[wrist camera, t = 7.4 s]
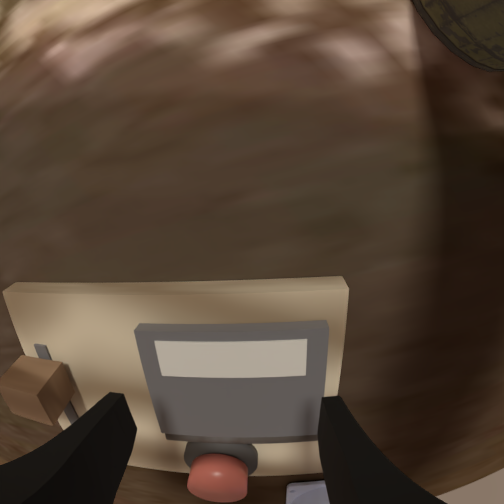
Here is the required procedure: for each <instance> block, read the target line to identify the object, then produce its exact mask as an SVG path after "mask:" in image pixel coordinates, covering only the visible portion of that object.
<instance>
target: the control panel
mask: <svg viewBox="0 0 504 504" xmlns="http://www.w3.org/2000/svg"><path fill="white" fill-rule="evenodd" d="M348 294H349V288H348V286H347V284H346V283H345V281H344V279H343V277H342V276H330V277H308V278H285V279H259V280H229V281H190V282H128V283H41V282H16V283H14V284H13V285H11V286H10V287H8V288H7V289H6V290H4V291H3V295H4V298H5V301H6V304H7V307H8V310H9V313H10V316H11V319H12V322H13V325H14V327H15V330H16V333H17V335H18V338H19V340H20V343H21V345H22V348H23V350H24V353H25V355H26V356H30V357H35V358H41V359H47V360H53V361H60V362H63V365H64V367H65V370H66V372H67V375H68V377H69V379H70V382H71V384H72V386H73V388H74V391H75V393H74V395H73V396H72V398H71V399H70V401H69V403H68V404H67V406H66V407H65V409H64V410H63V412H62V414H61V415H60V417H59V418H58V422H59V423H60V425H61V427H62V428H63V430H65V429H66V428H67V427H69V426H70V425H71V424H73V423H74V422H75V421H76V420H77V419H79V418H80V417H81V416H82V415H83V414H84V413H86V412H87V411H88V410H89V409H90V408H91V407H93V406H94V405H95V404H96V403H97V402H98V401H99V400H101V399H102V398H103V397H104V396H105V395H106V394H108V393H109V392H115V393H123V394H124V396H125V399H126V401H127V404H128V406H129V409H130V412H131V414H132V417H133V419H134V421H135V424H136V426H137V434H136V438H135V443H134V447H133V451H132V453H131V456H130V459H129V461H128V464H127V465H132V466H138V467H144V468H150V469H157V470H165V471H173V472H182V473H190V469H191V464H192V461H193V460H194V459H195V458H196V457H198V456H201V455H204V454H224V455H228V456H232V457H235V458H237V459H239V460H241V461H242V462H244V463H245V464H246V466H247V467H248V476H278V475H298V474H311V473H322V472H323V471H322V466H321V462H320V457H319V447H318V436H317V434H316V435H303V436H287V437H206V436H189V435H176V434H166V433H161V430H160V427H159V423H158V420H157V417H156V414H155V411H154V407H153V404H152V400H151V397H150V393H149V390H148V386H147V383H146V379H145V375H144V371H143V368H142V364H141V360H140V356H139V351H138V347H137V343H136V339H135V334H134V330H135V328H136V327H137V326H138V324H139V323H151V324H243V323H275V322H298V321H316V320H327V323H328V326H329V342H328V356H327V369H326V380H325V391H324V397H328V396H337V393H338V386H339V379H340V372H341V364H342V356H343V347H344V338H345V328H346V318H347V307H348Z"/></svg>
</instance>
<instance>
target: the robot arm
mask: <svg viewBox="0 0 504 504" xmlns="http://www.w3.org/2000/svg"><path fill="white" fill-rule="evenodd" d="M136 434H137V426H136V424H135V421H134V419H133V417H132V414H131V412H130V409H129V406H128V404H127V401H126V399H125V396H124V394H123V393H115V392H109V393H108V394H106V395H105V396H104V397H103V398H102V399H101V400H99V401H98V402H97V403H96V404H95V405H94V406H93V407H91V408H90V409H89V410H88V411H87V412H86V413H84V414H83V415H82V416H81V417H80V418H79V419H77V420H76V421H75V422H74V423H73V424H71V425H70V426H69V427H67V428H66V429H65V430H64V431H62V432H61V433H60V434H58V435H57V436H56V437H54V438H53V439H51V440H50V441H48V442H47V443H45V444H44V445H42V446H40V447H39V448H37V449H35V450H34V451H32V452H30V453H28V454H26V455H24V456H22V457H20V458H17V459H15V460H13V461H11V462H8V463H5V464H3V465H0V504H113V501H114V498H115V495H116V492H117V490H118V487H119V484H120V482H121V479H122V477H123V474H124V472H125V469H126V466H127V464H128V461H129V459H130V456H131V453H132V451H133V447H134V443H135V438H136ZM317 436H318V447H319V457H320V462H321V466H322V471H323V475H324V480H323V481H312V482H299V483H290V484H288V485H287V492H286V504H447V503H445V502H443V501H442V500H440V499H438V498H437V497H435V496H433V495H432V494H430V493H429V492H427V491H426V490H425V489H423V488H422V487H420V486H419V485H417V484H416V483H415V482H413V481H412V480H411V479H410V478H408V477H407V476H406V475H405V474H404V473H402V472H401V471H400V470H399V469H398V468H397V467H396V466H395V465H394V464H393V463H392V462H390V461H389V460H388V458H387V457H386V456H385V455H384V454H383V453H382V452H381V451H380V450H379V449H378V448H377V447H376V445H375V444H374V443H373V442H372V441H371V439H370V438H369V437H368V436H367V434H366V433H365V432H364V431H363V429H362V428H361V427H360V425H359V424H358V423H357V421H356V420H355V418H354V417H353V415H352V414H351V412H350V411H349V409H348V408H347V406H346V405H345V403H344V401H343V400H342V398H341V397H340V396H328V397H322V398H321V407H320V416H319V424H318V431H317Z"/></svg>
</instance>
